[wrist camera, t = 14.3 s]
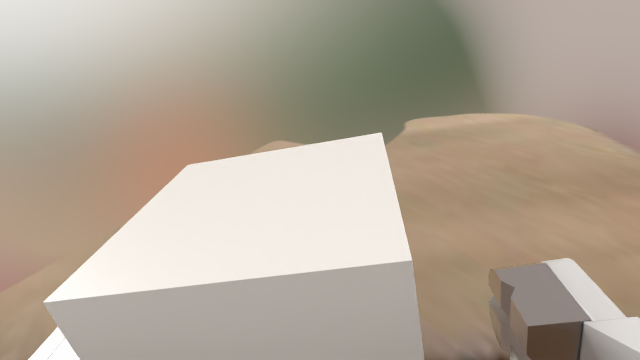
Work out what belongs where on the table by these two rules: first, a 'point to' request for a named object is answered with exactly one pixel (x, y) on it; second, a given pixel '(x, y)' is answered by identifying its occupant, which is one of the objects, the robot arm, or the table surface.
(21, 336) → the table surface
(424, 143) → the table surface
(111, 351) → the tall grey block
